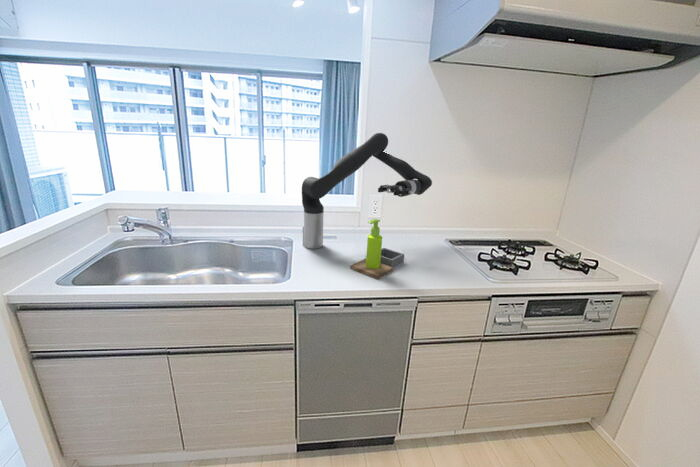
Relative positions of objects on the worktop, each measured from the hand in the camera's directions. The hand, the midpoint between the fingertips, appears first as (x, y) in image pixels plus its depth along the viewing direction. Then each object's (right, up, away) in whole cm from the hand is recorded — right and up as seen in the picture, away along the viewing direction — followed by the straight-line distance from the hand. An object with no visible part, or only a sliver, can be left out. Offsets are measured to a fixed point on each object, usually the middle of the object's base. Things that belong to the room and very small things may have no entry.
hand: (386, 191), depth 142 cm
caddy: (0, -32, -2) cm, 32 cm away
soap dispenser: (-7, -33, -11) cm, 35 cm away
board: (-7, -34, -10) cm, 36 cm away
